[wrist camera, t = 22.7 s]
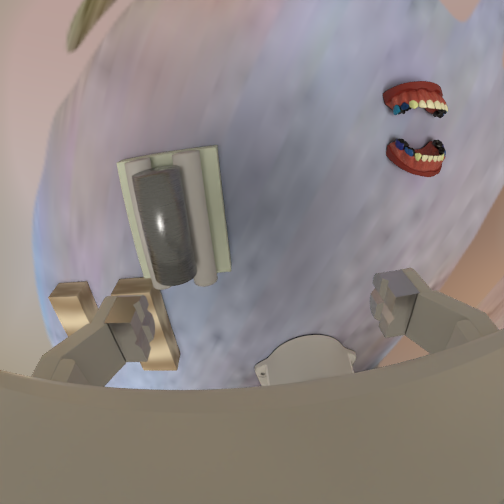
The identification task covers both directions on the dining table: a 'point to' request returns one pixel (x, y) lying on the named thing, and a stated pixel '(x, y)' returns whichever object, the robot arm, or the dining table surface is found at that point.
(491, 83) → the dining table surface
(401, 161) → the teeth model
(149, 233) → the axle
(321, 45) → the dining table surface
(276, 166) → the dining table surface
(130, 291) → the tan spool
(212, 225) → the plate with parallel rods
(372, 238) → the dining table surface
